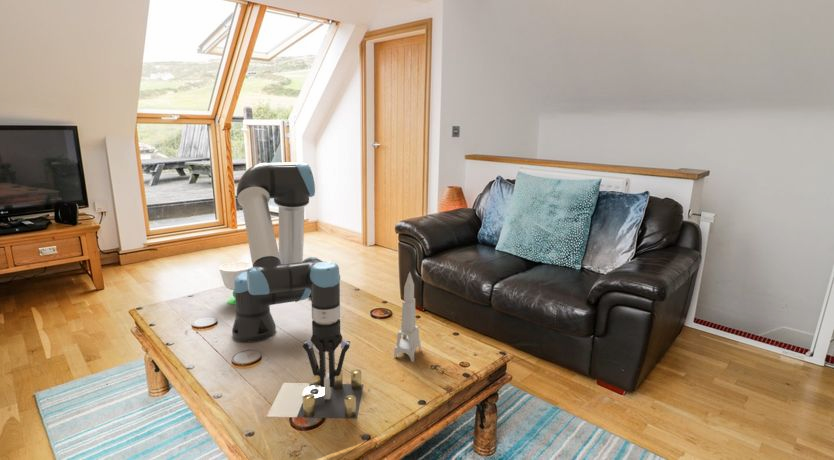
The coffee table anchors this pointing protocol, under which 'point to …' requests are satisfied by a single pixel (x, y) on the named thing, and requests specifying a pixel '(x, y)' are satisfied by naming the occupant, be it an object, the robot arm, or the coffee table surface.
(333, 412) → the mat
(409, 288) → the sculpture
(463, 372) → the coffee table surface
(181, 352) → the coffee table surface
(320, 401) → the nut
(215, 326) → the coffee table surface
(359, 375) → the spacers
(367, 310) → the coffee table surface
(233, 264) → the cup
